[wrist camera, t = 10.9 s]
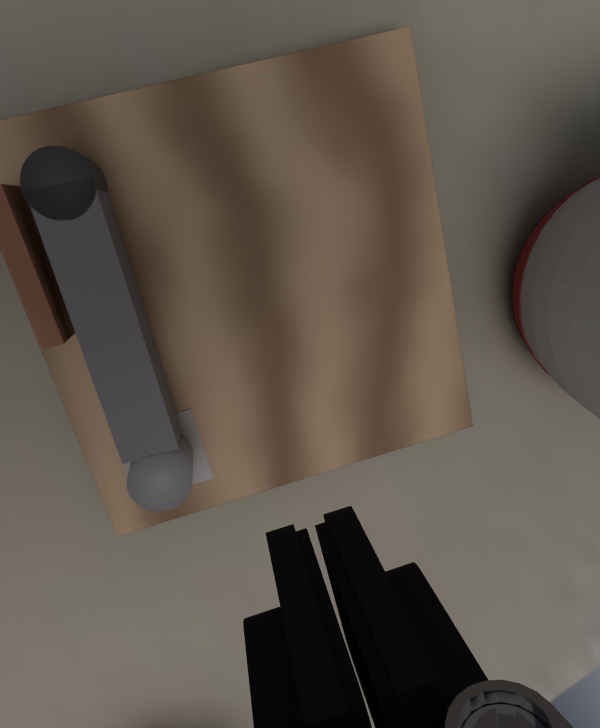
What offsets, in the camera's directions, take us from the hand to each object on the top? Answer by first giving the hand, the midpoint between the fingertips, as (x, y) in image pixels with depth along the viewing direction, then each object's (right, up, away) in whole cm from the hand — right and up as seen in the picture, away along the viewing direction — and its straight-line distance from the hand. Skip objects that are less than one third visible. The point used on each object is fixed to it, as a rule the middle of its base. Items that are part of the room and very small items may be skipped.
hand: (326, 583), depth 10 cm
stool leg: (-10, +6, +17) cm, 21 cm away
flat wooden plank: (-3, +8, +20) cm, 22 cm away
